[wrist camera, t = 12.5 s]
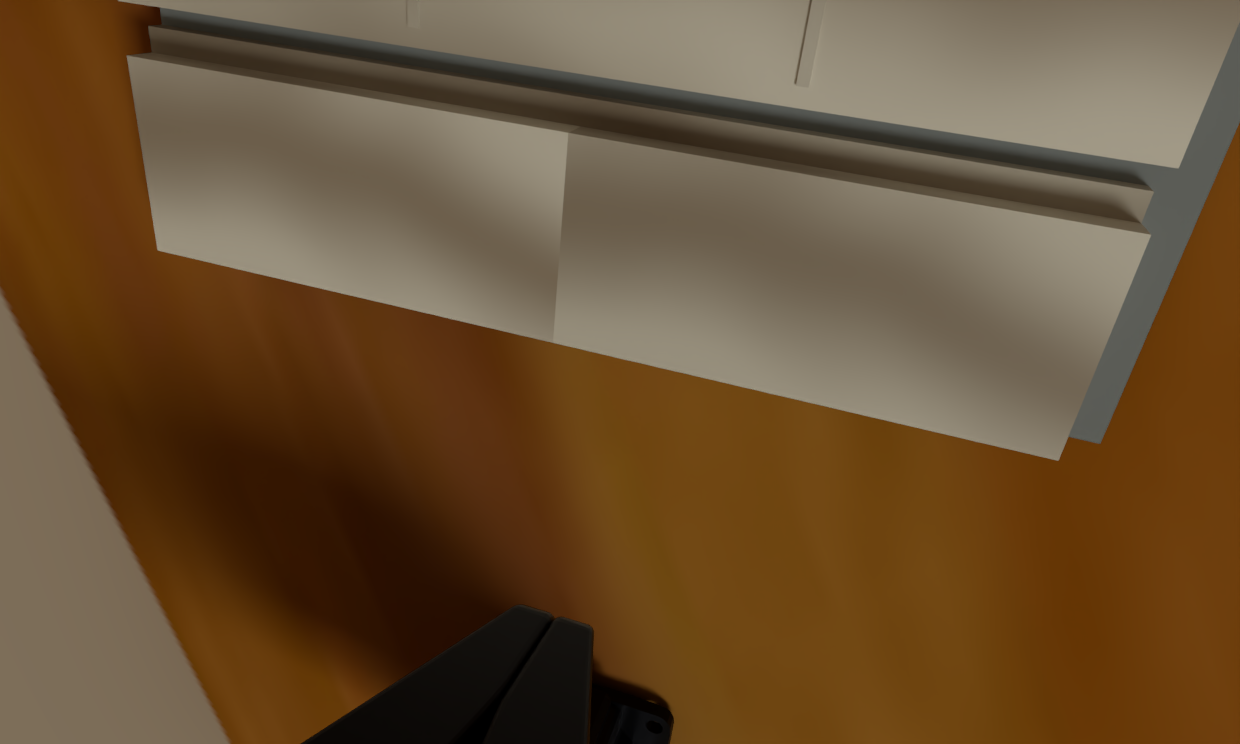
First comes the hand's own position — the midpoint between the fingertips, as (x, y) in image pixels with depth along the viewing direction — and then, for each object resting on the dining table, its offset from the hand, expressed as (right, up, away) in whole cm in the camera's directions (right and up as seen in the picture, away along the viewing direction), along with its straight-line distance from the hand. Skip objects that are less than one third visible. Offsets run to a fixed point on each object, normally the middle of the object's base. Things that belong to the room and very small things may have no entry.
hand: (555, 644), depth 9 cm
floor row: (0, +6, +11) cm, 12 cm away
